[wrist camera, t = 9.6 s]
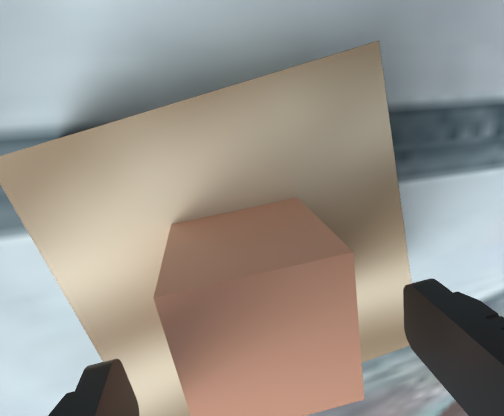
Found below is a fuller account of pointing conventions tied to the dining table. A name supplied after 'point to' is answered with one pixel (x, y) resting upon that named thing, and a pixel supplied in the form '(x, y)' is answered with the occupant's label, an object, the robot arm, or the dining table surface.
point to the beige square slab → (216, 200)
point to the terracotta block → (261, 313)
